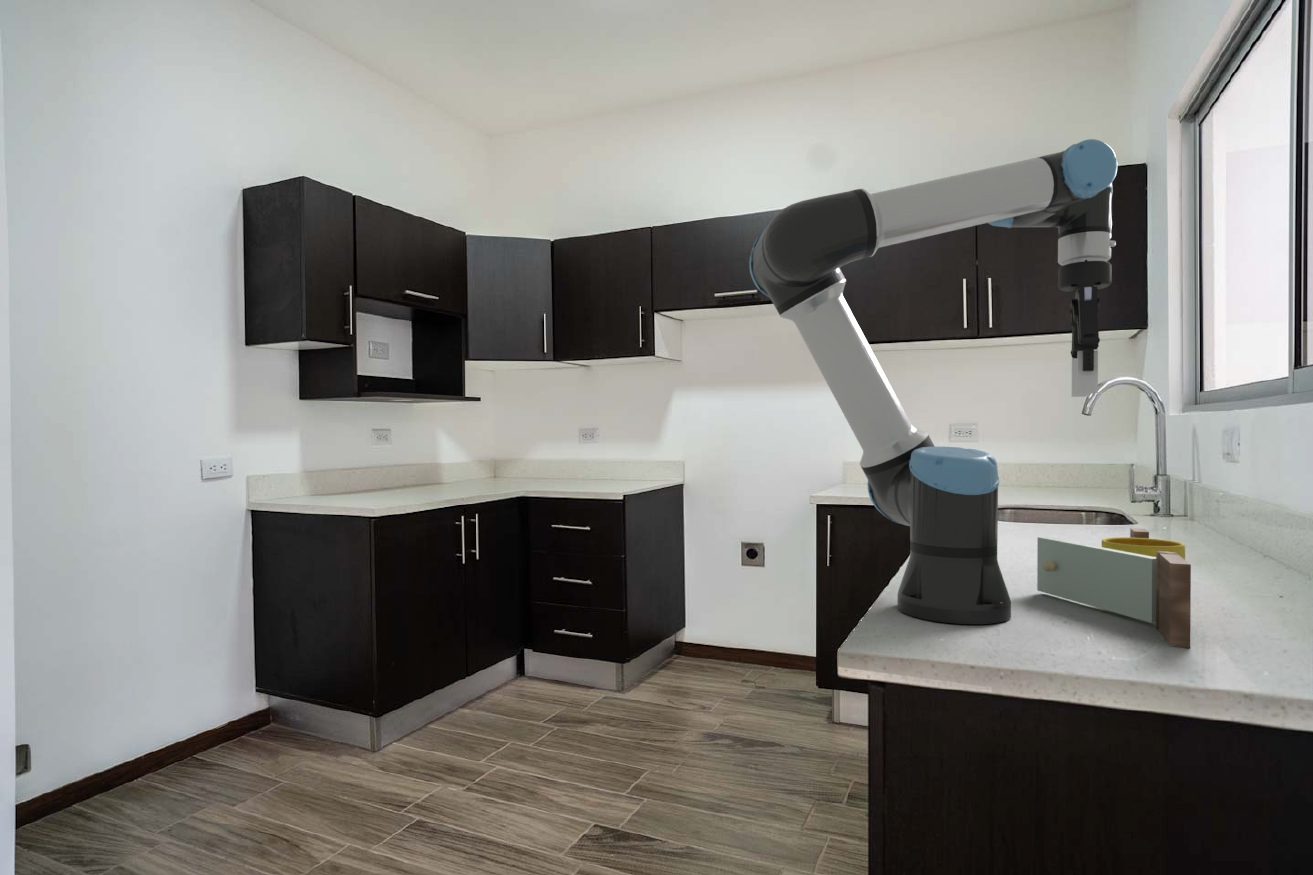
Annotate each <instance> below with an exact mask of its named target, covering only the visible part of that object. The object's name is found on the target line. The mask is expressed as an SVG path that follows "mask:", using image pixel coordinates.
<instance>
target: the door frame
mask: <svg viewBox="0 0 1313 875" xmlns="http://www.w3.org/2000/svg"><path fill="white" fill-rule="evenodd" d="M1129 530H1130V532H1129V534H1130V536H1129V538H1149V539H1150V532H1149V530H1147V529H1146V528H1138V527H1137V528H1133V527H1130V528H1129ZM1191 577H1192V565H1191V564H1190V562H1189V561H1188V560H1186V559H1185V560H1184V559H1183V558H1182V557H1180V556H1179V555H1178V553H1175V552H1165V551H1158V552H1156V623H1155V629H1156V630H1159V632H1160V634H1161V636H1163V638H1164V639H1165V641H1166V642H1167V644H1168V645H1169V646H1170V647H1176V648H1177V647H1178V648H1185V649H1187V648H1188V649H1191V617H1192V616H1191V610H1192V609H1191V608H1192V607H1191V606H1192V605H1191V604H1192V602H1191V599H1192V597H1191V596H1192V595H1191V591H1192V590H1191V588H1192V584H1191V583H1192V580H1191V579H1192V578H1191Z"/></svg>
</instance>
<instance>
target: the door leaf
mask: <svg viewBox="0 0 1313 875" xmlns="http://www.w3.org/2000/svg"><path fill="white" fill-rule="evenodd" d="M1036 558H1037V560H1036V561H1037V565H1036V566H1037V568H1036V569H1037V570H1036V572H1037V573H1036V574H1037V576H1036V579H1037V582H1036V584H1037V585H1036V589H1037V591H1038V592H1042V593H1045V594H1049V595H1052V596H1055V597H1059V598H1062V599H1064V600H1065V599H1066V600H1070V601H1074V602H1077V603H1080V604H1084V605H1088V606H1091V607H1095V608H1098V609H1102V610H1105V611H1109V612H1112V613H1115V614H1119V615H1123V616H1126V617H1130V618H1132V619H1136V620H1140V621H1143V622H1144V621H1145V622H1147V623H1151V624H1156V557H1152V556H1147V555H1141V554H1136V553H1130V552H1125V551H1120V550H1114V549H1109V548H1103V547H1102V546H1098V545H1093V544H1086V543H1082V542H1076V541H1070V540H1066V539H1065V540H1064V539H1060V538H1054V537H1049V536H1038V537H1037V557H1036Z"/></svg>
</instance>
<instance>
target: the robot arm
mask: <svg viewBox="0 0 1313 875" xmlns="http://www.w3.org/2000/svg"><path fill="white" fill-rule="evenodd" d="M1117 172H1118V159H1117V156H1116V153H1115V151H1114V150H1113V148H1112V147H1111V146H1110V145H1109V144H1108V143H1106V142H1104V141H1102V140H1099V139H1093V138H1088V139H1083V140H1082V141H1079V142H1077V143H1074V144H1073V143H1072V144H1071V145H1069V147H1067V148H1066V149H1065V150H1062V151H1060V152H1056V153H1055V152H1054V153H1050V154H1045V155H1042V156H1041V155H1040V156H1037V157H1035V158H1034V157H1033V158H1029V159H1024V160H1018V161H1016V162H1010V163H1006V164H1001V165H998V166H993V167H989V168H983V169H978V170H974V171H970V172H964V173H960V174H955V175H951V176H947V177H943V178H941V177H940V178H938V179H933V180H928V181H924V182H923V181H922V182H919V183H915V184H910V185H906V186H902V187H901V186H900V187H897V188H892V189H888V190H883V191H878V192H874V193H870V192H868V191H867V190H866V189H864V188H857V189H853V190H852V189H851V190H849V191H843V192H839V193H832V194H828V195H823V196H822V195H821V196H817V197H813V198H809V199H804V200H801V201H798V202H794V203H792V204H790V205H788V206H786V207H784V208H783V209H781V210H780V211H779V212H778V213H776V214H775V215H774V216H773V218H772V219H771V220H770V222H769V223H768V224H767V226H766V227H765V229H763V230H762V231H761V233H760V234H758V236H757V238H756V240H755V242H754V243H753V245H752V248H751V252H750V256H749V263H748V264H749V273H750V276H751V280H752V281H753V283H754V286H756V288H757V289H758V290H759V291H760V292H761V293H762V294H763V295H765V296H766V297H768V298H769V299H770V300H771V302H772V304H773V306H774V307H775V309H776V311H777V313H778V314H779V317H780V318H782V319H786V320H789V321H792V322H793V323H794V324H795V326H796V328H797V330H798V333H800V335H801V337H802V340H803V341H804V343H805V345H806V347H807V348H808V350H809V353H810V354H811V356H812V358H813V360H814V362H815V364H816V365H817V368H818V369H819V371H820V373H821V375H822V377H823V379H824V380H825V382H826V384H827V386H828V388H829V390H830V392H831V393H832V395H833V397H834V398H835V401H836V402H837V405H838V407H839V409H840V410H841V412H842V414H843V415H844V417H845V419H846V422H847V423H848V425H849V427H850V429H851V431H852V432H853V434H854V436H855V438H856V440H857V443H859V446H860V447H861V449H862V455H861V459H860V461H859V466H860V467H861V470H862V471H863V474H864V475H865V477H866V479H867V493H868V496H869V498H870V501H871V503H872V504H873V506H874V508H875V509H876V510H877V511H878V512H879V513H880V514H881V515H883V516H884V517H885V518H886V519H888V520H890V521H892V522H894V523H895V524H900V525H904V526H907V527H909V528H910V530H909V531H910V532H909V533H910V535H909V536H910V537H909V539H910V540H909V541H910V542H909V543H910V547H909V548H910V551H909V552H910V553H909V558H908V561H907V564H906V568H905V570H904V574H903V576H902V579H901V581H900V582H901V583H900V584H899V587H898V591H897V605H896V606H897V609H898V610H899V611H900V612H902V613H904V614H905V615H907V616H911V617H914V618H918V619H921V620H927V621H932V622H937V623H938V622H940V623H946V624H947V623H949V624H957V625H958V624H959V625H986V624H987V625H988V624H989V625H991V624H998V623H1003V622H1006V621H1009V620H1010V619H1011V618H1012V601H1011V597H1010V594H1009V591H1008V588H1007V586H1006V583H1005V580H1004V577H1003V574H1002V571H1001V568H1000V565H999V561H998V540H999V538H998V537H999V536H998V532H999V530H998V529H999V528H998V525H999V522H998V520H999V518H998V517H999V510H998V509H999V485H1000V477H999V471H998V463H997V460H996V458H995V457H994V456H993V455H992V454H990V453H989V452H986V451H982V450H978V449H974V448H963V447H959V446H958V447H957V446H956V447H955V446H936V445H934V444H935V443H933V441H932V439H931V437H930V435H929V433H928V432H927V431H926V430H923V429H919V428H916V427H914V426H913V424H912V422H911V420H910V419H909V417H908V415H907V413H906V411H905V410H904V408H903V406H902V404H901V401H900V400H899V398H898V396H897V395H896V393H895V391H894V388H893V387H892V385H891V382H890V381H889V380H888V377H887V375H886V374H885V372H884V370H883V368H882V366H881V364H880V362H879V361H878V358H877V357H876V355H875V354H874V351H873V350H872V348H871V345H870V343H869V342H868V340H867V338H866V336H865V335H864V332H863V331H862V329H861V327H860V325H859V324H858V321H857V320H856V318H855V316H854V314H853V312H852V310H851V308H850V306H849V304H848V303H847V301H846V299H845V297H844V295H843V294H844V290H845V286H846V284H847V279H846V278H845V275H844V274H843V272H842V269H841V268H842V267H843V266H845V265H848V264H850V263H852V262H855V261H859V260H863V259H867V258H868V259H869V258H872V257H873V256H874V255H875V254H876V252H877V251H878V249H880V248H883V247H889V246H892V245H895V244H896V245H897V244H902V243H905V242H909V241H915V240H919V239H923V238H926V237H931V236H935V235H940V234H944V233H949V232H952V231H953V232H954V231H958V230H962V229H966V228H971V227H975V226H978V225H979V226H980V225H983V224H989V225H991V226H992V227H1001V228H1007V229H1011V228H1057V229H1058V230H1057V232H1058V234H1057V235H1058V241H1057V263H1058V264H1059V265H1060V267H1059V268H1058V271H1057V272H1058V273H1057V275H1058V276H1057V277H1058V278H1057V279H1058V281H1057V287H1058V289H1059V290H1060V291H1063V292H1068V293H1069V292H1075V294H1074V295H1075V296H1074V297H1075V298H1074V299H1071V300H1070V302H1069V312H1070V325H1071V328H1072V329H1071V351H1070V355H1071V357H1072V358H1071V397H1072V398H1076V397H1077V398H1078V397H1079V398H1080V397H1081V398H1083V397H1091V394H1098V393H1099V392H1098V391H1099V389H1098V388H1099V380H1098V378H1099V350H1098V348H1099V344H1100V341H1101V338H1100V336H1099V334H1100V333H1099V331H1100V329H1099V312H1100V311H1099V309H1100V301H1101V300H1100V297H1098V292H1099V290H1102V289H1106V288H1108V287H1109V286H1111V284H1112V268H1113V267H1112V264H1111V262H1109V261H1110V259H1111V258H1112V248H1114V247H1116V245H1117V244H1116V243H1117V241H1116V240H1111V239H1112V226H1113V220H1112V219H1113V218H1112V216H1113V215H1112V214H1113V195H1114V194H1113V193H1114V190H1113V181H1114V180H1115V178H1116V176H1117ZM1111 247H1112V248H1111Z"/></svg>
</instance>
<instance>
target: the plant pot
mask: <svg viewBox="0 0 1313 875" xmlns="http://www.w3.org/2000/svg"><path fill="white" fill-rule="evenodd" d="M1101 547H1103V548H1109V549H1114V550H1120V551H1125V552H1130V553H1136V554H1141V555H1147V556H1152V557H1156V552H1158V551H1165V552H1175V553H1178V555H1179V556H1180V557H1182V558H1183V559H1184V560H1186V545H1185V544H1184V543H1183V542H1179V541H1175V540H1168V539H1167V540H1166V539H1160V538H1150V537H1149V538H1130V536H1129V537H1127V536H1126V537H1120V536H1119V537H1118V536H1117V537H1116V536H1115V537H1106V538H1103V539H1101Z"/></svg>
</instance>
